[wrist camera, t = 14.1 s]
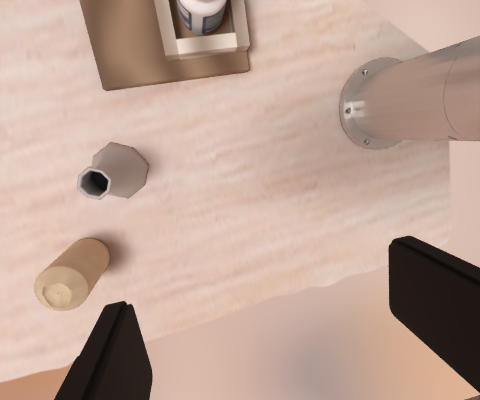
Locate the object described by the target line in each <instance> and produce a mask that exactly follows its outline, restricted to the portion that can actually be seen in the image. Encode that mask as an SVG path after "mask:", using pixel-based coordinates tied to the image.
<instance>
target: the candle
mask: <svg viewBox="0 0 480 400" xmlns="http://www.w3.org/2000/svg"><path fill="white" fill-rule="evenodd" d="M109 260H110V253H109V250H108V248H107V247H106V246H105V245H104V244H103V243H102V242H100V241H98V240H95V239H90V238H87V239H82V240H79V241H77V242H75V243H74V244H73V245H71V246H70V247H69V248H68V249H67V250H66V251H65V252H64V253H63V254H61V255H60V256H59V257H58V258H57V259H56V260H55V261H54V262H53V263H51V264H50V265H49V266H48V267H47V268H46V269H45V270H44V271H43V272H42V273H41V274H39V276H38V277H37V279H36V281H35V284H34V291H35V295H36V297H37V298H38V300H39V301H40V302H41V303H42V304H43V305H45V306H46V307H48V308H50V309H53V310H58V311H66V310H71V309H74V308H76V307H78V306H80V305H81V304H82V303H83V302H84V301H85V300H86V298H87V297H88V295H89V294H90V292H91V291H92V289H93V287H94V286H95V284H96V283H97V281H98V280H99V278H100V277H101V275H102V274H103V272H104V271H105V269H106V267H107V266H108V264H109Z"/></svg>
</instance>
